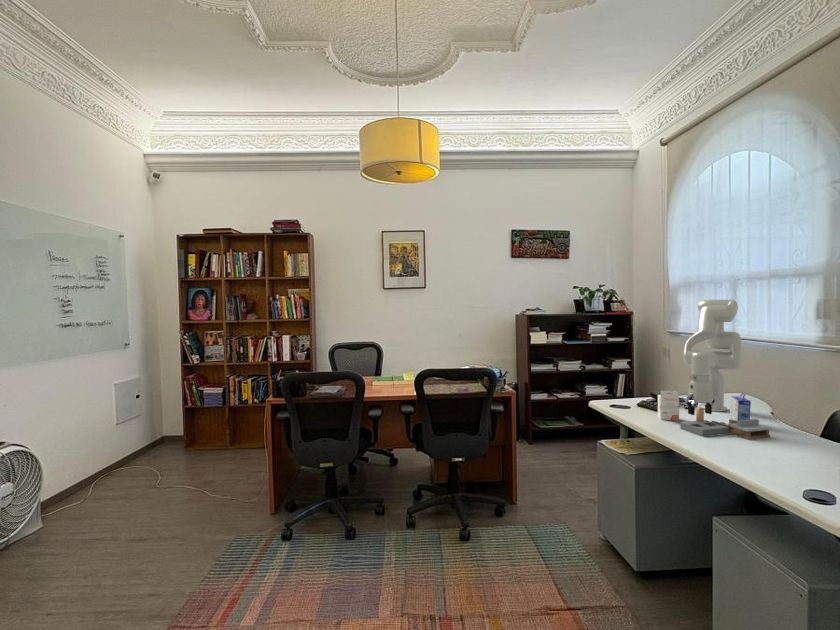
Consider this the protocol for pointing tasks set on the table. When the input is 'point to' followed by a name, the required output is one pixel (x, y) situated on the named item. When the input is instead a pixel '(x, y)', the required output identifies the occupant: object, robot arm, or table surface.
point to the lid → (748, 425)
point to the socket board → (704, 428)
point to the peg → (699, 414)
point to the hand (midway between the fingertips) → (699, 413)
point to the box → (743, 433)
